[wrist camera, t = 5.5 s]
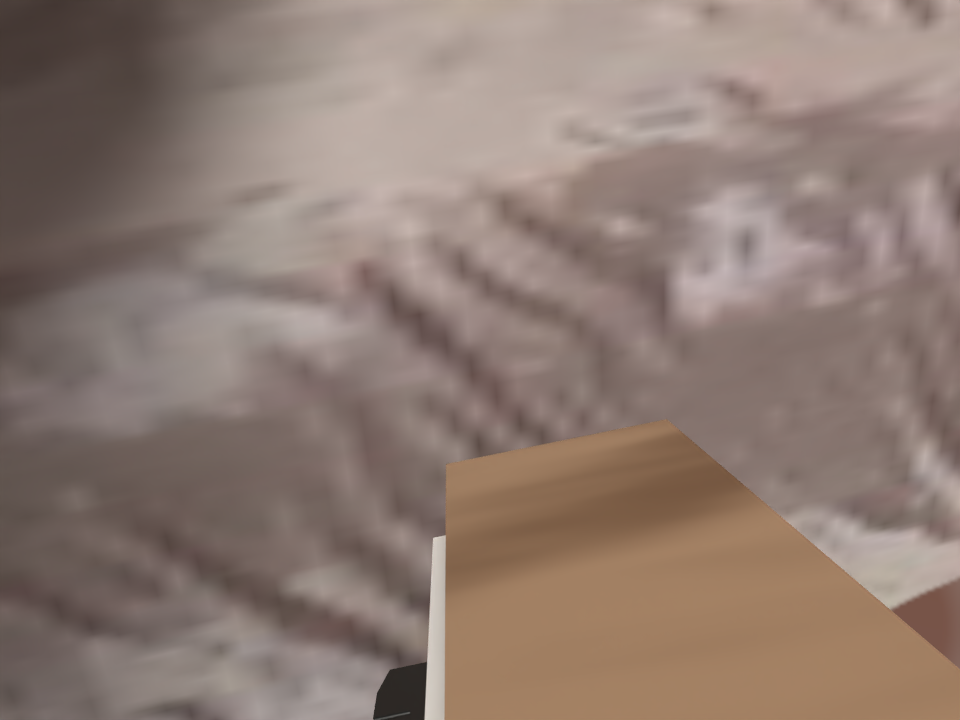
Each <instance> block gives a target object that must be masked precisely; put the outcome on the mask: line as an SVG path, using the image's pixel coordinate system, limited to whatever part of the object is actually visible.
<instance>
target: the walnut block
mask: <svg viewBox="0 0 960 720" xmlns="http://www.w3.org/2000/svg"><path fill="white" fill-rule="evenodd" d="M444 720H960V669H959V668H958V667H956V666H955V665H954V664H953V663H952V662H951V661H950V660H948V659H947V658H946V657H945V656H944V655H943V654H941V653H940V652H939V651H938V650H936V649H935V648H934V647H933V646H932V645H931V644H930V643H928V642H927V641H926V640H925V639H923V637H921V636H920V635H919V634H918V633H917V632H915V631H914V630H913V629H912V628H911V627H909V626H908V625H907V624H906V623H905V622H904V621H903V620H901V619H900V618H899V617H898V616H897V615H896V614H894V613H893V612H892V611H891V610H890V609H889V608H887V607H886V606H885V605H884V604H883V603H882V602H880V601H879V600H878V599H877V598H876V597H874V596H873V595H872V594H871V593H870V592H869V591H867V590H866V589H865V588H864V587H863V586H862V585H860V584H859V583H858V582H857V581H856V580H855V579H853V578H852V577H851V576H850V575H849V574H848V573H846V572H845V571H844V570H843V569H842V568H840V567H839V566H838V565H837V564H836V563H835V562H833V561H832V560H831V559H830V558H829V557H828V556H826V555H825V554H824V553H823V552H822V551H821V550H819V549H818V548H817V547H816V546H815V545H814V544H812V543H811V542H810V541H809V540H808V539H806V538H805V537H804V536H803V535H802V534H801V533H799V532H798V531H797V530H796V529H795V528H794V527H792V526H791V525H790V524H789V523H788V522H787V521H785V520H784V519H783V518H782V517H781V516H780V515H778V514H777V513H776V512H775V511H774V510H772V509H771V508H770V507H769V506H768V505H767V504H765V503H764V502H763V501H762V500H761V499H760V498H758V497H757V496H756V495H755V494H754V493H753V492H751V491H750V490H749V489H748V488H747V487H746V486H744V485H743V484H742V483H741V482H740V481H738V480H737V479H736V478H735V477H734V476H733V475H731V474H730V473H729V472H728V471H727V470H726V469H724V468H723V467H722V466H721V465H720V464H719V463H717V462H716V461H715V460H714V459H713V458H712V457H710V456H709V455H708V454H707V453H706V452H704V451H703V450H702V449H701V448H700V447H699V446H697V445H696V444H695V443H694V442H693V441H692V440H690V439H689V438H688V437H687V436H686V435H685V434H683V433H682V432H681V431H680V430H679V429H677V428H676V427H675V426H674V425H673V424H672V423H670V422H669V421H668V420H667V419H666V420H661V421H656V422H651V423H646V424H641V425H636V426H631V427H626V428H622V429H617V430H612V431H607V432H602V433H597V434H592V435H587V436H582V437H577V438H572V439H567V440H563V441H558V442H553V443H548V444H543V445H538V446H533V447H528V448H523V449H518V450H513V451H508V452H504V453H499V454H494V455H489V456H484V457H479V458H474V459H469V460H464V461H459V462H454V463H449V464H446V561H445V717H444Z"/></svg>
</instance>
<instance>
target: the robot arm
mask: <svg viewBox="0 0 960 720" xmlns="http://www.w3.org/2000/svg"><path fill="white" fill-rule="evenodd" d="M445 561H446V535H445V536H440V537H435V538H433V553H432V574H431V595H430V616H429V637H428V658H427V662H425V663H421V664H416V665H411V666H406V667H401V668H397V669H392V670H390V671H389V673H388V674H387V676H386V678H385V680H384V682H383V683H382V685H381V687H380V689H379V691H378V692H377V697H376V704H375V710H374V717H373V719H374V720H444V717H445Z"/></svg>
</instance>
